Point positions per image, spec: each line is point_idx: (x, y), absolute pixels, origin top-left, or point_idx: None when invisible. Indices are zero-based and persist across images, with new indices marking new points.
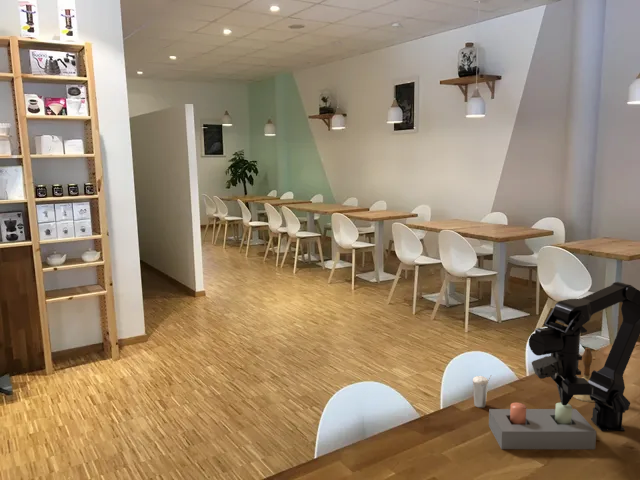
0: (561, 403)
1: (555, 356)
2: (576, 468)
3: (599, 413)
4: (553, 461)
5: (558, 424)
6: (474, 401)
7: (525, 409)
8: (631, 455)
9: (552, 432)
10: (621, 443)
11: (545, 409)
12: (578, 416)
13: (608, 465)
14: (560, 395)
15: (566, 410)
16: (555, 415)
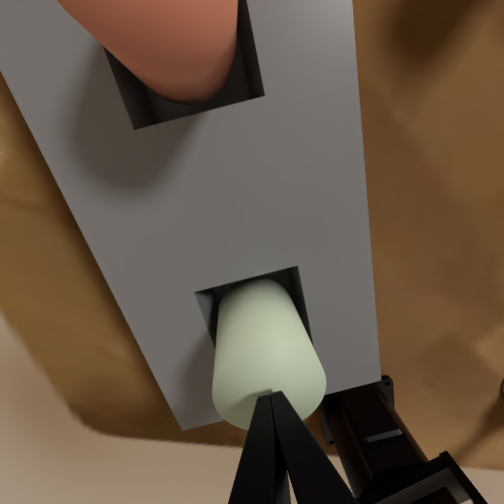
0: (278, 392)
1: None
2: (32, 301)
3: (361, 439)
4: (40, 228)
5: (227, 293)
6: None
7: (93, 36)
8: (192, 438)
9: (99, 258)
10: None
11: (365, 248)
12: None
13: (106, 387)
14: (288, 470)
15: (212, 396)
16: (254, 299)
